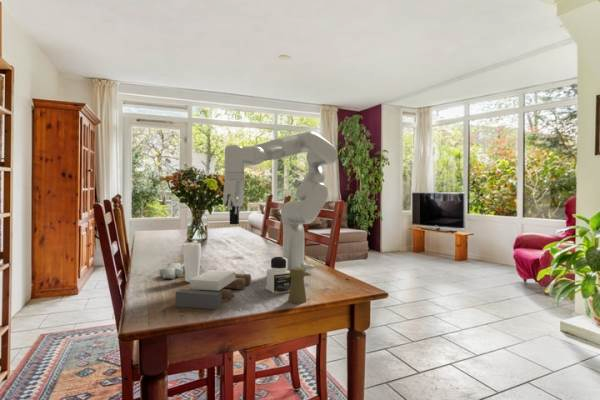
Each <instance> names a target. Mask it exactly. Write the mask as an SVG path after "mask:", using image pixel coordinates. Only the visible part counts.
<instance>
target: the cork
mask: <svg viewBox="0 0 600 400" xmlns="http://www.w3.org/2000/svg"><path fill="white" fill-rule="evenodd" d="M290 276H291V285H290V292H288V302H289V303H291V304H294V305H295V304H299V305H300V304H305V303H307V294H306V285H305V276H306V273H305V270H304V268H301V267H294V268H292V269H291V270H290Z"/></svg>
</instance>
